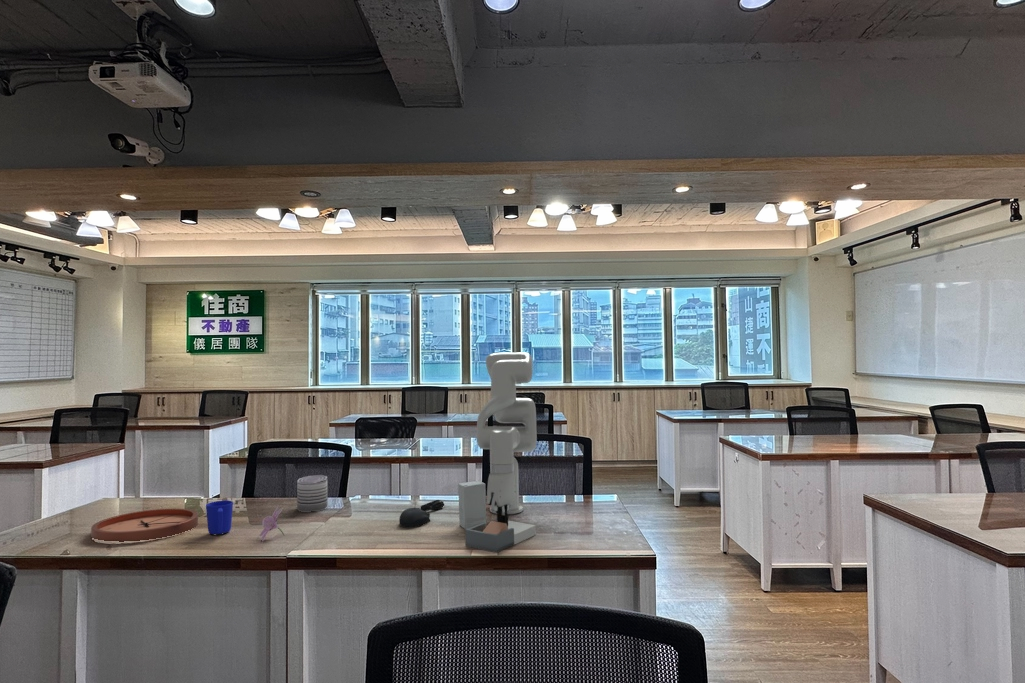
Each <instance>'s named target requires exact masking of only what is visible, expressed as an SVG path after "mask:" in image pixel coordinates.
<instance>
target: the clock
mask: <svg viewBox="0 0 1025 683" xmlns="http://www.w3.org/2000/svg"><path fill="white" fill-rule="evenodd" d="M198 525H199V513H198V511H196V510H193V509H190V508H158V509H156V508H155V509H147V510H138V511H135V512H133V511H132V512H128V513H124V514H123V513H122V514H118V515H115V516H110V517H108V518H105V519H101V520H100V521H97V522H96V523H94V524H93V525H92V526H91V529H90V532H91V533H90V538H91V537H92V538H94V539H98V540H104V541H119V542H124V541H140V540H149V539H156V538H162V537H167V536H172V535H175V534H179V533H182V532H185V531H188V530H190V531H192V530H193V529H192V528H194V527H195V528H197V527H198ZM196 526H197V527H196ZM195 528H194V529H195ZM191 529H192V530H191ZM188 532H189V531H188Z"/></svg>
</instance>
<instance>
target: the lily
mask: <svg viewBox="0 0 1025 683" xmlns="http://www.w3.org/2000/svg"><path fill="white" fill-rule="evenodd" d="M283 509H284V507H281V508H279V506H276V508H275V509H274V511H273V512H272V514H271V515H267V516H265V517H264V518H263V519H262V520H261V521H262V527H263V529H262V530H261V532H260V534H259V536H260V537H259V536H258V537H259V538H261V540H262V541H263V542H264V540H265V538H266V536H267V534H269V532H270V531H273V530H276V529H278V530H279V531H280V532H281V534H282V536H285V534H284V532H283V530H282V529H281V528H280V527H279V526H278V519H277V518H278V517H279V516H280V514H281V512H282V511H283ZM261 540H260V541H261Z"/></svg>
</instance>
